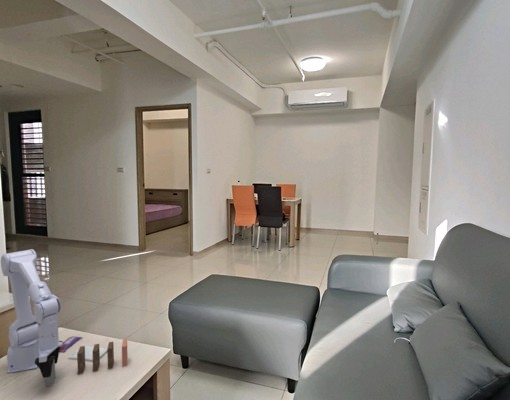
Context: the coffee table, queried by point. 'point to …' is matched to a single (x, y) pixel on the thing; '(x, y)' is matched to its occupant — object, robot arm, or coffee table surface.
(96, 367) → the domino
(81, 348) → the domino
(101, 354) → the hard drive
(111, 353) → the domino
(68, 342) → the snack package
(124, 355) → the domino
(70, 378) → the coffee table surface
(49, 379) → the domino
